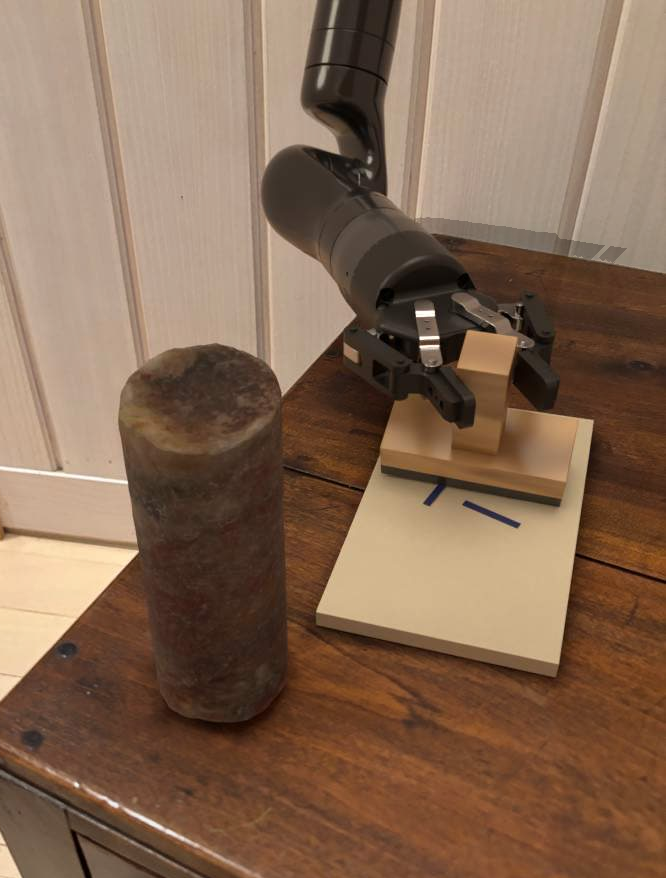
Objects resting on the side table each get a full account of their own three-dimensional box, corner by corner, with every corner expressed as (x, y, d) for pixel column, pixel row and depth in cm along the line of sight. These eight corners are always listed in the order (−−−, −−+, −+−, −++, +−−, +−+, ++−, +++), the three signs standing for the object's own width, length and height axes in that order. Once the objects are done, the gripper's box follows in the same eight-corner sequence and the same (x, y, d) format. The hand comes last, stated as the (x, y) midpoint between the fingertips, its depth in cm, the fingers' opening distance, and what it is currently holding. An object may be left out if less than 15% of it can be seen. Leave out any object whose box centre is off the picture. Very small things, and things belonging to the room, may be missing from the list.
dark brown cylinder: (307, 647, 54) (299, 350, 41) (273, 749, 49) (251, 448, 36) (185, 624, 56) (139, 332, 43) (140, 720, 51) (71, 423, 37)
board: (404, 405, 72) (405, 391, 71) (590, 433, 68) (594, 418, 67) (315, 625, 55) (315, 610, 55) (555, 678, 52) (559, 663, 51)
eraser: (398, 416, 66) (397, 306, 56) (572, 446, 62) (601, 335, 53) (380, 473, 64) (376, 368, 54) (559, 507, 60) (587, 402, 51)
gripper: (300, 246, 62) (397, 374, 49) (496, 212, 64) (635, 325, 52) (303, 345, 67) (392, 484, 54) (484, 310, 69) (608, 435, 57)
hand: (509, 406), depth 53 cm, fingers closed on eraser, 4 cm apart
